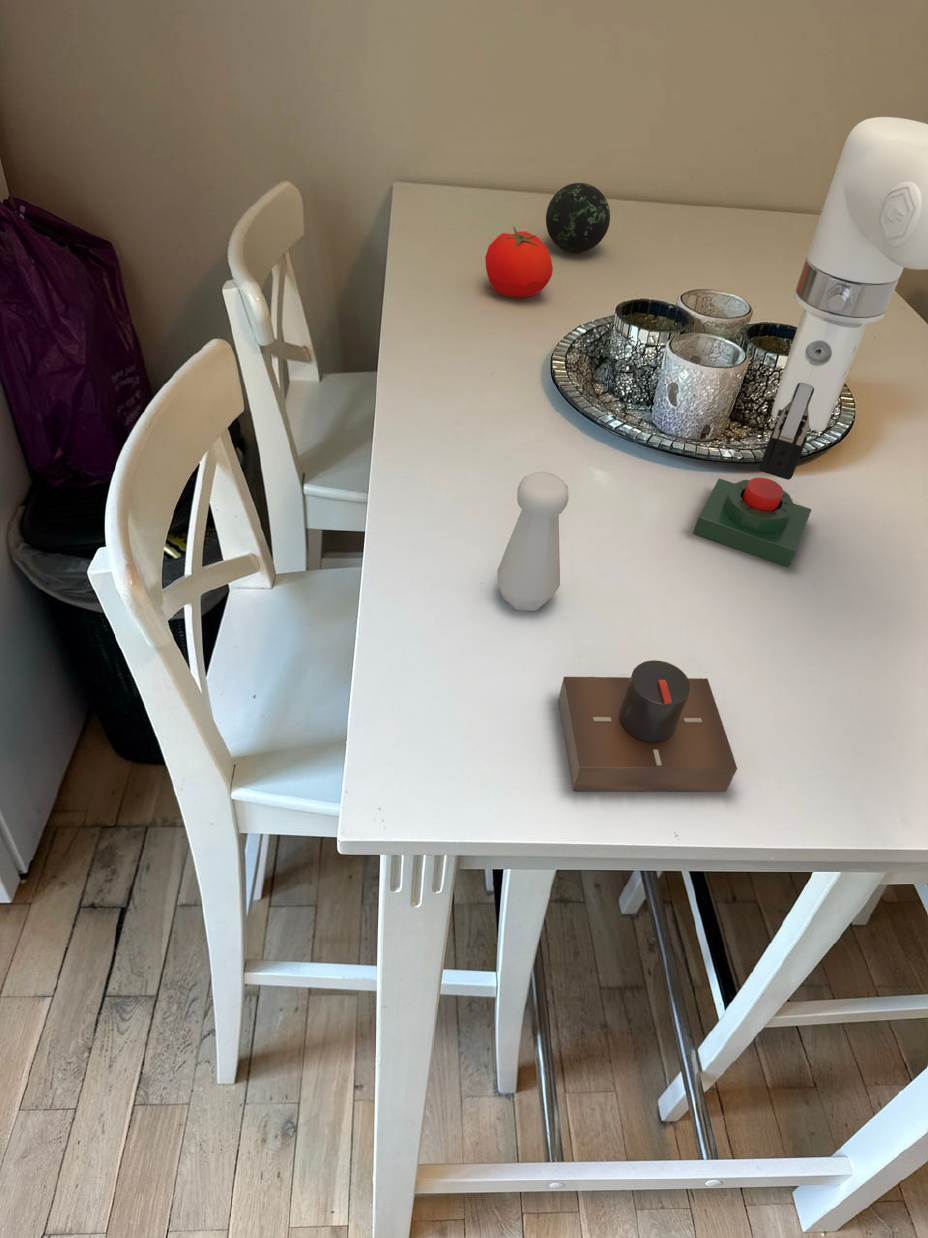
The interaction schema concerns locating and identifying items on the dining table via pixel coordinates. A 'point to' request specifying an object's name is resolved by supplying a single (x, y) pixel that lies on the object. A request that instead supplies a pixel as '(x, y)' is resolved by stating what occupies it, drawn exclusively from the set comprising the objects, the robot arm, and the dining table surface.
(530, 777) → the dining table surface
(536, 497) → the salt shaker
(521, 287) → the tomato
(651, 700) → the knob
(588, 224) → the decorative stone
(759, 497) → the button
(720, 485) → the button box
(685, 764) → the panel
